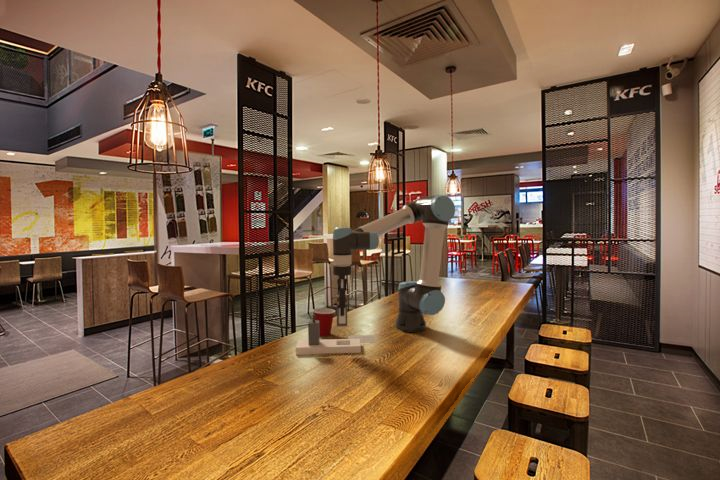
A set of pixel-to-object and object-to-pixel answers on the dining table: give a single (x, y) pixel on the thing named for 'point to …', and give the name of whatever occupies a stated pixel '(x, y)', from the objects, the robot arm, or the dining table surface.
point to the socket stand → (325, 343)
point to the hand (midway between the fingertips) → (342, 321)
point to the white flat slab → (363, 338)
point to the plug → (338, 311)
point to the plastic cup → (324, 320)
